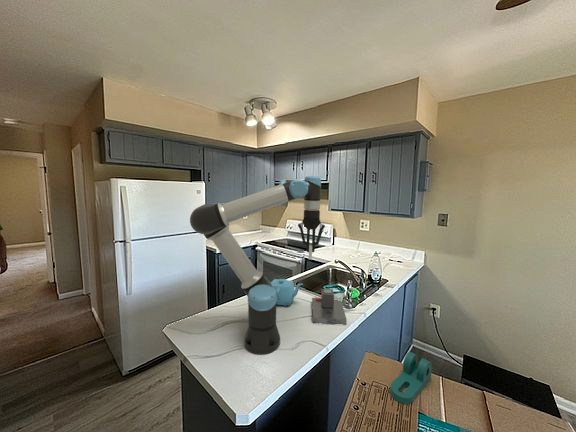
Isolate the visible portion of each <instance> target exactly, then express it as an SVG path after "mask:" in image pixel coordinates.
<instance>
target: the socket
mask: <svg viewBox="0 0 576 432" xmlns="http://www.w3.org/2000/svg"><path fill="white" fill-rule="evenodd" d="M311 310H312V311H311V312H313V313H312V324H313V323H318V325H320V324H319V323H322V324H321V325H335V324H343V325H342V326H347V321H348V319H347V315H346V314H345V313H346V312H345V310H344V307H343V303H342V300H341V301H338V300H334V308H328V307H322V303H321V297H312V298H311Z"/></svg>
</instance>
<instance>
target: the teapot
mask: <svg viewBox="0 0 576 432" xmlns="http://www.w3.org/2000/svg"><path fill="white" fill-rule="evenodd" d="M270 282H271V284H272V287H273V288H274V289H275V291H276V296H277V301H276V305H278V306H279V305H280V306H282V307H288V306H291V304H292V303H293V300H294V298H295V297H297V296H298V294H299V290H300V287H301V286H302V285H304V283H298V284H296V286H295V285H294V281H293V280H289V279H287V278H279V279H278V278H273V280H272V281H270ZM287 305H288V306H287Z"/></svg>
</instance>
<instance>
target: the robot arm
mask: <svg viewBox="0 0 576 432" xmlns="http://www.w3.org/2000/svg"><path fill="white" fill-rule="evenodd" d="M321 191H322V179H321V177H320V176H314V175H313V176H311V175H307V176H305V177H304V180H303V179H301V178H296V179H281V180H279V182H278V185H276V186H273V187H270V188H267V189H266V188H265V189H264V190H260V191H257V192H254V193H253V194H252V193H251V194H249V195H246V196H244V197H243V196H242V197H241V198H238V199H234V200H232V201H229V202H226V203H223V204H221V203H219V202H218V203H214V204H213V203H204V204H202V205H200V206H198V207H196V208H195V209H194V210H193V211H192V212H191V214H190V217H189V224H190V226H191V228H192V229H193V230H194V231H195V232H196V233H198V234H200V235H203V236H204V237H205V239H206V240H209V241H212V242H213V243H214V245H215V247H216V248H217V250H218V251H219V253H221V255H222V256H223V258H224V260H226V262H227V263H228V264H229V267H230V268H231V269H232V270H233V272H234V273H235V275H236V276H237V278H238V279H239V280H240V282H241V286H240V287H241V289H242V291H243V292H244V293H245V295H246V296H247V302H248V303H247V304H248V305H247V306H248V312H247V313H248V327H247V330H246V333H245V336H244V339H243V340H244V348H245V350H247V351H248V352H250V353H251V354H254V355H268V354H270V353H273V352H274V351H277V349H278V348H279V347H280V345H281V335H280V332H279V329H278V325H277V304H276V301H277V296H276V291H275V289H274V288H273V287H272V284H271V282H272V281H270V279H268V277H266V276H265V274H264V273H263V271H259V270H257V268H256V267H255V266H254V264H253V262H251V260H250V259H249V257H248V255H247V254H246V252H245V251H244V250H243V247H242V246H241V245H240V244H239V242H238V241H237V240H236V237H234V235H233V234H232V231H230V223H232V222H236V221H238V220H240V219H243V218H245V217H249V216H251V215H254V214H257V213H259V212H262V211H266V210H268V209H270V208H271V209H272V208H273V207H276V206H280V205H281V204H285V203H288V202H291V201H293V200H297V199H302V198H304V199H303V209H304V210H303V219H302V221H301V222H300V223H298V224H297V227H298V228H299V230H300V231H299V232H300V235H301V240H302V244H303V245H305V246H306V253H308V260H313V253H315V248H316V247H315V246H317V245H319V244H320V240H321V237H322V233H323V230H324V229H325V228H326V225H325V224H324V223H322V222H321V220H320V219H321V217H320V216H321V215H320V214H321V211H320V210H321ZM304 227H305V228H306V237H305V235H304ZM318 227H319V230H318V233H317V237H316V230H317V228H318ZM311 230H312V232H311ZM310 232H311V233H312V235H311V238H310V234H311V233H310ZM310 239H311V244H310Z"/></svg>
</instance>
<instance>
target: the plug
mask: <svg viewBox="0 0 576 432" xmlns="http://www.w3.org/2000/svg"><path fill="white" fill-rule="evenodd" d="M320 298H321V303H322V307H328V308H334V299H335V294H334V289H329V288H321V296H320Z"/></svg>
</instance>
